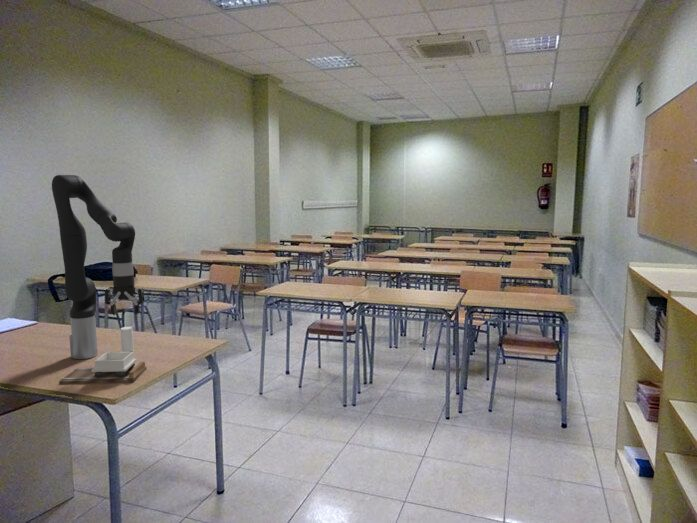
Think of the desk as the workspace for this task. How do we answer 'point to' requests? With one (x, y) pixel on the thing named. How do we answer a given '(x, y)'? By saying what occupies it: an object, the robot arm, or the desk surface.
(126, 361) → the white open tray
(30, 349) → the desk surface
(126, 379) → the track
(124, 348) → the tube
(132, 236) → the robot arm
